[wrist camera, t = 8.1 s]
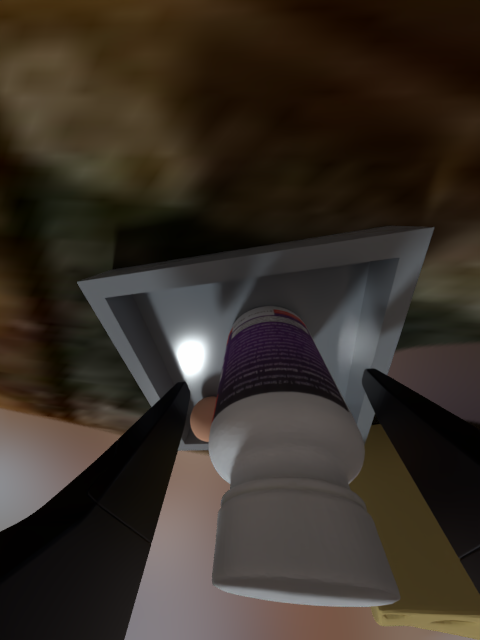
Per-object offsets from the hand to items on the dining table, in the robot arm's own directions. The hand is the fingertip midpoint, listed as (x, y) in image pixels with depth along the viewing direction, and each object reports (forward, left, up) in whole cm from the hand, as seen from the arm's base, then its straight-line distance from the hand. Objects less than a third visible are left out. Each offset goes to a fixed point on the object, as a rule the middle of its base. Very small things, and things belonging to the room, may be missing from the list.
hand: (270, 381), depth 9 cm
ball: (+5, +6, -4) cm, 9 cm away
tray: (+1, +2, -4) cm, 5 cm away
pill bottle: (0, 0, -4) cm, 4 cm away
